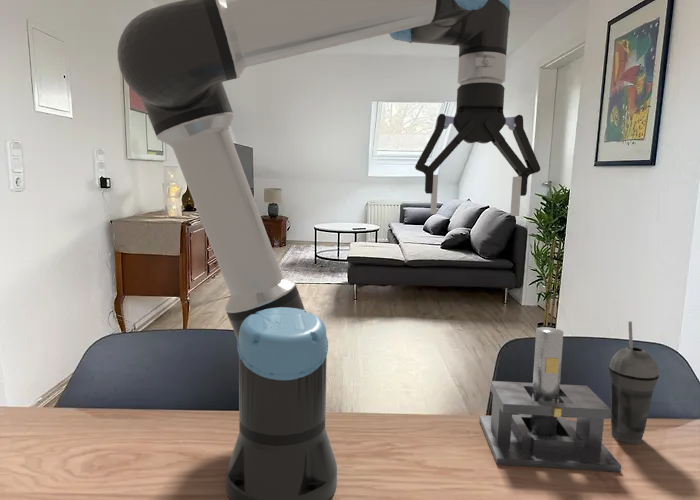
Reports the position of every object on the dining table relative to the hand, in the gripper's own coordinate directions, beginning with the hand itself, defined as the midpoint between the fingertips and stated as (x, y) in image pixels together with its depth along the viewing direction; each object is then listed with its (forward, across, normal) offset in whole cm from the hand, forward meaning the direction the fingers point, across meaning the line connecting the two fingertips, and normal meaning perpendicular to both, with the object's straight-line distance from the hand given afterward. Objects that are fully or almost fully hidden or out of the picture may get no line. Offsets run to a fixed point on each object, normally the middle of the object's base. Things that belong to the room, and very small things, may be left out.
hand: (473, 214), depth 83 cm
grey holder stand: (+37, +12, -7) cm, 39 cm away
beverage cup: (+37, +27, -3) cm, 46 cm away
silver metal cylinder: (+36, +12, -7) cm, 38 cm away
